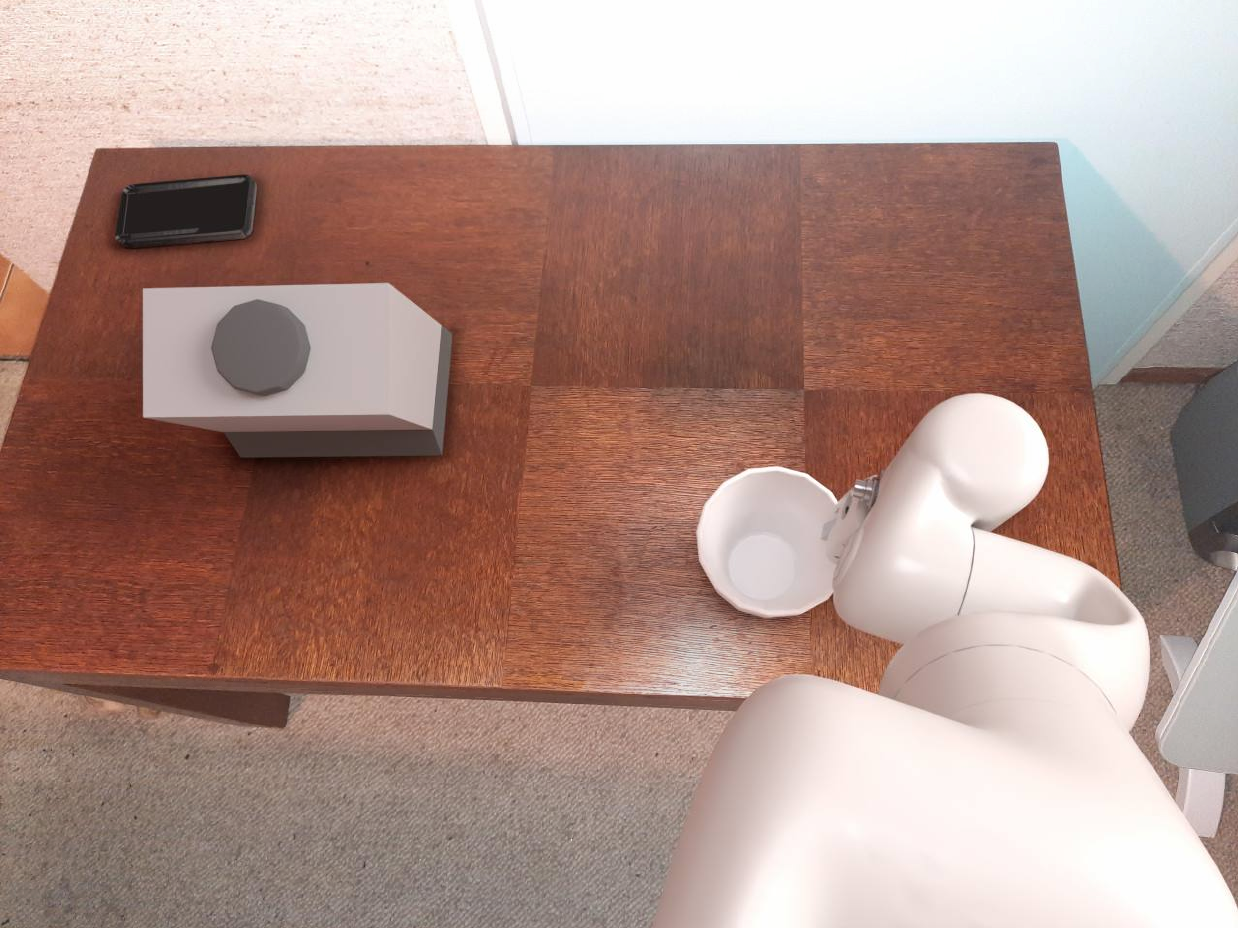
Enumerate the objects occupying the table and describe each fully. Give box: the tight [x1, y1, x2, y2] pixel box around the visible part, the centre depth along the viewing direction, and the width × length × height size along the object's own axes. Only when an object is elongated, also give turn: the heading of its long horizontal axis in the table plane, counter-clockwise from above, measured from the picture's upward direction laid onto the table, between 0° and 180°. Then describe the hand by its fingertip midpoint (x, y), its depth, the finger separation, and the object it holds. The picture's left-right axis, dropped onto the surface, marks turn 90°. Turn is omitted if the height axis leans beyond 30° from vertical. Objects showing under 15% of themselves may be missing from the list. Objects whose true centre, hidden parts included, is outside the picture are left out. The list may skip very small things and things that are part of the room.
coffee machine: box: [142, 282, 454, 458], centre depth 77 cm, size 20×16×20 cm
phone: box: [114, 173, 258, 249], centre depth 95 cm, size 8×1×15 cm
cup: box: [695, 465, 839, 619], centre depth 73 cm, size 12×12×11 cm
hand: (870, 563), depth 76 cm, fingers closed
